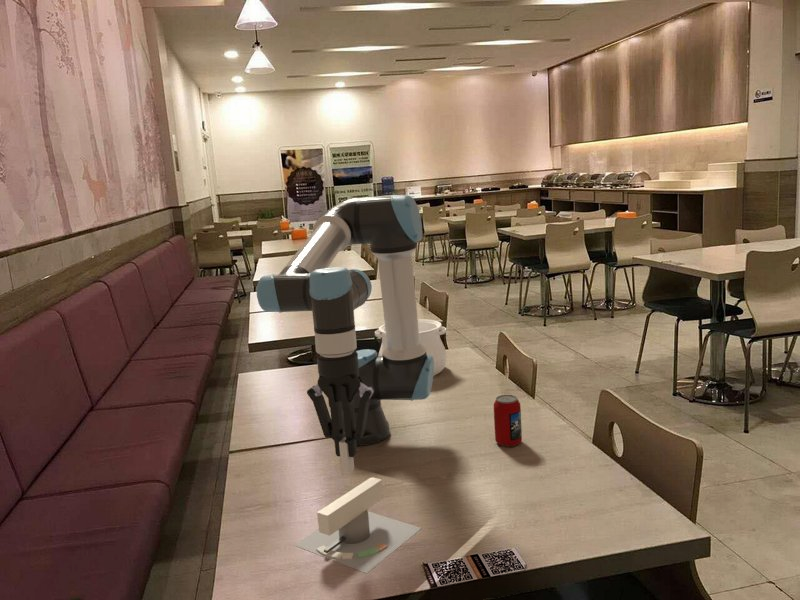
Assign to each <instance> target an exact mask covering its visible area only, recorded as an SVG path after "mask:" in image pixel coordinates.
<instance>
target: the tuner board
mask: <svg viewBox="0 0 800 600" xmlns="http://www.w3.org/2000/svg"><path fill="white" fill-rule="evenodd" d="M367 511H368V510H367ZM368 517H369V528H370V536H369V538H368V539H366V540H365V541H363V542H360V543H356V544H348V543H344V542H342V543H340V544H339V545H338V546H336V547H335V548H334V549H332V550H331V551H330V552H328V553H325V552H324V549H325V548H327V547H328V546H329V545H331V544H332V543H334V542H335V541H336V540H338V539H339V530H337V531H336V532H334V533H333V534H332V535H330V536H329V535H326V534H323V533H320V532H319V528H318V529H316V530H315V531H313V532H311V533H310V534H309V535H307V536H306V537H304V538H302V539H301V540H300V541H298V542H297V543H296V544H294V545H293V546H295V547H297V548H300V549H302V550H306V551H307V552H311V553H313V554H315V555H317V556H320V557H323V558H325V559H329V560H331V561H334V562H336V563H338V564H341V565H344V566H346V567H349V568H351V569H354V570H357V571H359V572H362V573H364V574H368V573H369V572H370V571H371V570H373V569H374V568H376V566H378V565H379V564H380V563H381V562H383V561H384V560H385V559H386V558H388V557H389V556H390V555H391V554H393V552H394V551H396V550H397V549H398V548H400V547H401V546H402V545H403V544H405V543H406V542H407V541H408V540H410V539H411V538H412V537H413V536H415V535H416V534H417V533H418V532H419V531H421V529H422V527H420V526H416V525H413V524H410V523H407V522H403V521H400V520H397V519H394V518H390V517H389V516H388V517H387V516H384V515H382V514H378V513H375V512H372V511H368Z"/></svg>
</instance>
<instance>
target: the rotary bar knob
mask: <svg viewBox="0 0 800 600" xmlns="http://www.w3.org/2000/svg"><path fill="white" fill-rule="evenodd" d="M383 499H384V493H383V481H382V479H380V478H377V477H376V478H375V477H374V476H373V477H372V476H371V477H369V478H368V479H366V480H365V481H363V482H362V483H359V485H357V486H355V487H354V488H352V489H351V490H349V491H348V492H346V493H344V494H343V495H341V496H340V497H339V498H337V499H335V500H334V501H332V502H331V503H329V504H328V505H326V506H325V507H323V508H321V509H320V510H318V511H317V512H316V516H317V524H318V529H319V532H320V533H323V534H326V535H329V536H330V535H332V534H333V533H334V532H336V531H337V530H339V539H338V540H336V541H335V542H334V543H332V544H331V545H329V546H328V547H327V548H325V549H324V552H325V553H328V552H330V551H331V550H332V549H334V548H335V547H336V546H338V545H339V544H340V543H342V542H344V543H348V544H356V543H360V542H363V541H365V540H366V539H368V538H369V536H370V528H369V517H368V510H369V509H370V508H372V507H373V506H374V505H375V504H377V503H379V502H380V501H382V500H383Z"/></svg>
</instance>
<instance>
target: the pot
mask: <svg viewBox="0 0 800 600" xmlns="http://www.w3.org/2000/svg"><path fill="white" fill-rule="evenodd" d="M417 319H418V330H419V340H420V343H421V344H422V345H423V346H425V347H426V353H427V356H428V355H430V356H433V358H434V375H433V377H434V376H436V375H439V374H440V373H441V372H442V371H443V370H444V369H445V367H446V364H447V351H446V347H445V346H444V343H443V341H442V339H441V335H445V334H446V333H447V328H446V327H445V326H442V322H440V321H437V320H434V319H425V318H424V319H423V318H421V319H420V318H417ZM374 336H375V337H377V338H381V345H380V348H379V352H378V356H382V352H383V350H384V349H385V348H386V347H387V339H386V329H385V323H384V324H382V325H380V326H379V327H378V329H377V330H375V331H374Z"/></svg>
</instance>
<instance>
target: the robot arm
mask: <svg viewBox="0 0 800 600" xmlns="http://www.w3.org/2000/svg"><path fill="white" fill-rule="evenodd" d="M422 238H423V224H422V218H421V213H420V209H419V207H418V204H417V203H416V200H415V199H414V198H413V197H412V196H410V195H407V194H389V195H388V194H387V195H378V196H367V197H352V198H349V199H346V200H342V202H339V203H337V204H335V205H333V206H332V207H330V208H329V209H328V210H326V211H325V212H324V213H322V215H321V216H319V218H318V219H317V220H316V221H315V223H314V224H313V227H312V233H311V234H310V235H309V236H308V237H307V239H306V240H305V241H304V243H303V244H302V245H301V247H300V248H299V249H298V251H297V252H296V253H295V254H294V255H293V256H292V257H291V259H290V260H289V261H288V263H286V265H285V266H283V268H282V270H281V271H280V272H279V274H275V273H271V274H268V275H263V276H262V277H260V279H259V280H258V282H257V285H256V298H257V301H258V302H257V303H258V305H259V307H260V309H261V310H263V311H264V312H266V313H281V314H282V313H288V312H289V313H292V312H312V313H311V314H312V320H313V330H314V331H313V332H314V345H315V352H316V353H317V354H318V355H317V356H316V363H317V373H318V379H317V382H316V383H317V384H316V385H312V386H311V387H310V388H309V389H307V391H306V395H307V396H308V398H310V400H311V402H312V403H313V406H314V410H315V412H316V415H317V418H318V421H319V424H320V427H321V430H322V433H323V436H324V438H326V439H328V438H330V439H332V440H333V442H334V448H335V451H334V452H335V455H336V457H340V466H341V475H342V476H350V475H351V474H352V473H353V472H354V470H355V464H354V463H355V462H354V457H356V455H357V453H358V447H359V446H361V447H362V446H369V445H372V444H377V443H379V442H382V441H384V440H385V439H387V438H388V437H389V436H390V433H391V432H390V431H391V430H390V423H389V421H388V420H387V418H386V415H385V413H384V410H383V408H382V403H381V402H382V400H383V401H385V400H386V401H410V402H411V401H412V402H413V401H418V400H419V401H420V400H425V399H427V398H429V396H430V395H431V391H432V388H433V387H432V386H433V382H434V376H433V375H434V358H433V356H430V355H428V356H427V353H426V347H425V346H423V345H422V344H421V343H420V340H419V330H418V319H419V318H418V312H417V311H418V310H417V309H418V308H417V298H416V289H415V288H416V287H415V278H414V268H413V267H414V266H413V257H412V256H413V255H412V254H414V252H415V251H416V250H417V249H418V247H417V245H418V244H417V243H419V242H420V241H421V240H422ZM355 245H370V253H371V254H372V255H373V256H375V257H376V258H377V264H378V272H379V273H378V274H379V280H380V281H379V282H380V292H381V300H382V309H383V310H382V311H383V317H384V318H383V319H384V324H385V329H386V339H387V347H386V348H385V349H384V350H383V352H382V356H379V355H378V352H377V350H375V349H372V348H371V349H369V348H367V349H360V350H359V349H358V347H357V345H358V344H357V343H358V342H357V334H356V332H357V331H356V325H355V324H356V323H355V310H356V309H358V308H359V307H362V306H363V305H364V304H366V302H367V300H368V299H369V298H370V296H371V294H372V282H371V280H370V278H369V276H368V275H367V274H366V273H365V272H364V271H362V270H360V269H356V268H351V269H348V268H346V267H341V266H338V267H336V266H335V267H334V266H333V267H329V266H331V264H332V263H333V261H334V260H335V258H336V257H337V255H338V254H339V252H342V251H344V250H345V249H347V247H349V246H355ZM356 349H358V350H356ZM324 395H325V396H324ZM325 397H326V398H327V400H328V405H327V403H326V400H325ZM328 407H329V408H328ZM329 410H330V412H329ZM357 446H358V447H357Z"/></svg>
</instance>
